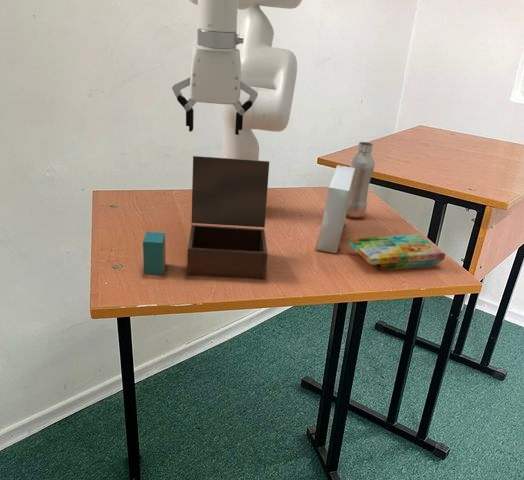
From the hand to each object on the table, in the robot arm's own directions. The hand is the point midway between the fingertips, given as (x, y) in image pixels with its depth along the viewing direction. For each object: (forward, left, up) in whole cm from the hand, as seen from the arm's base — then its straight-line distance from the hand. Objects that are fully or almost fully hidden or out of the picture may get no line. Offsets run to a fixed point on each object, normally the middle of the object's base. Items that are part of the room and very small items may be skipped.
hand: (214, 131), depth 123 cm
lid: (+2, +4, -13) cm, 13 cm away
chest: (+9, +1, -27) cm, 29 cm away
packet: (+9, -15, -27) cm, 32 cm away
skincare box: (-4, +34, -27) cm, 43 cm away
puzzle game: (+12, +42, -27) cm, 52 cm away
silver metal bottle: (-18, +47, -27) cm, 57 cm away
